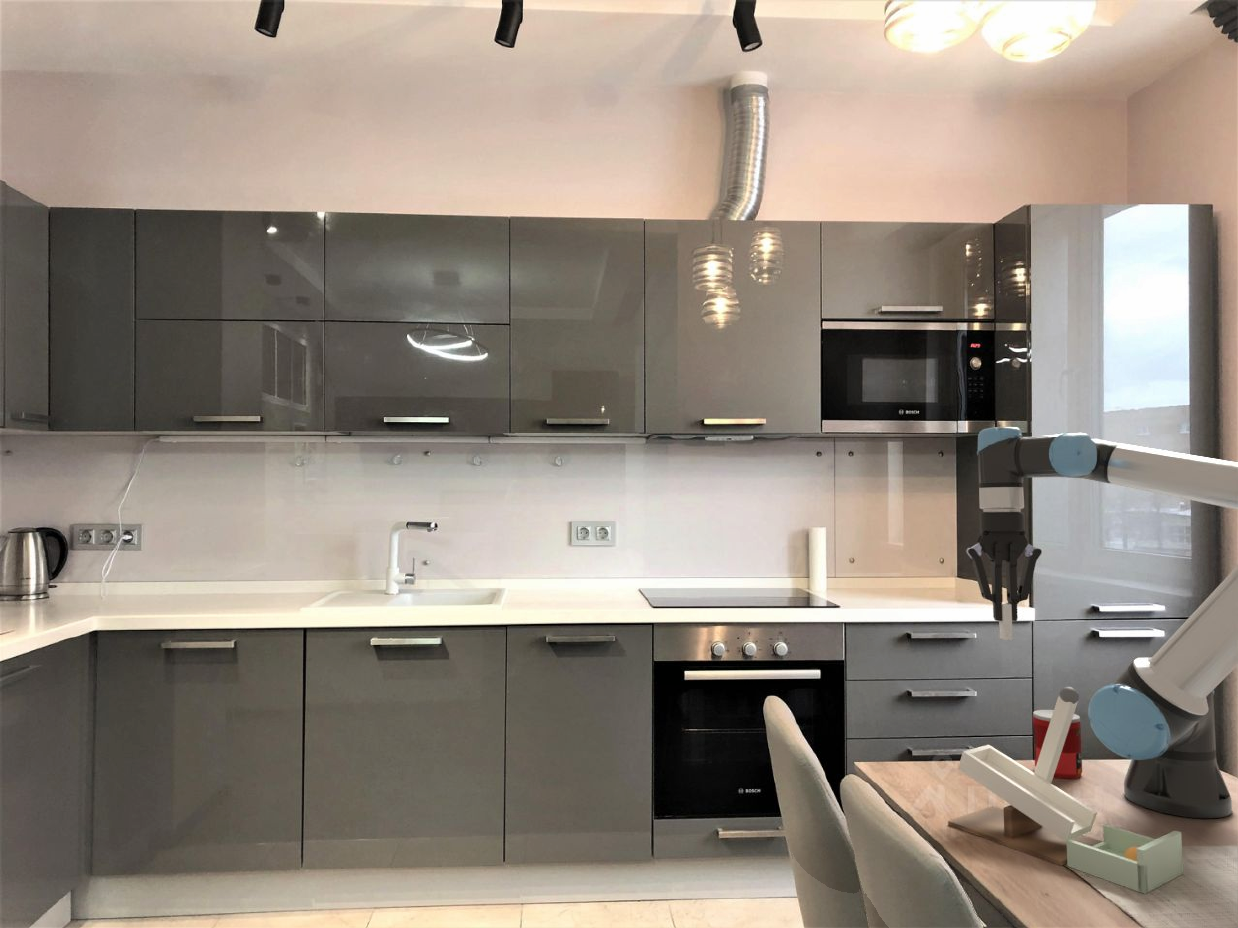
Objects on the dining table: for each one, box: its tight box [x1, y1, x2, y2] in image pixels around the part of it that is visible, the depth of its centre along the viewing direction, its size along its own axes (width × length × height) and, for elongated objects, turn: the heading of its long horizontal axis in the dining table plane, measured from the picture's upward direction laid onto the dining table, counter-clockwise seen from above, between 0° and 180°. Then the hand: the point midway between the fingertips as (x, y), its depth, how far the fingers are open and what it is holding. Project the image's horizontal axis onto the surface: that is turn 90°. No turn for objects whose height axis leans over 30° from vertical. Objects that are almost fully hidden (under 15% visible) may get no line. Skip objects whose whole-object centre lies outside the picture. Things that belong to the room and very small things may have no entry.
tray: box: [1066, 823, 1184, 895], centre depth 112 cm, size 10×11×6 cm
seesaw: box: [957, 686, 1098, 842], centre depth 123 cm, size 18×9×18 cm, turn 33°
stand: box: [947, 804, 1104, 867], centre depth 124 cm, size 18×12×5 cm, turn 33°
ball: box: [1124, 847, 1139, 861], centre depth 111 cm, size 3×3×3 cm
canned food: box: [1032, 709, 1083, 780], centre depth 154 cm, size 8×8×11 cm
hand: (1006, 638), depth 148 cm, fingers closed
